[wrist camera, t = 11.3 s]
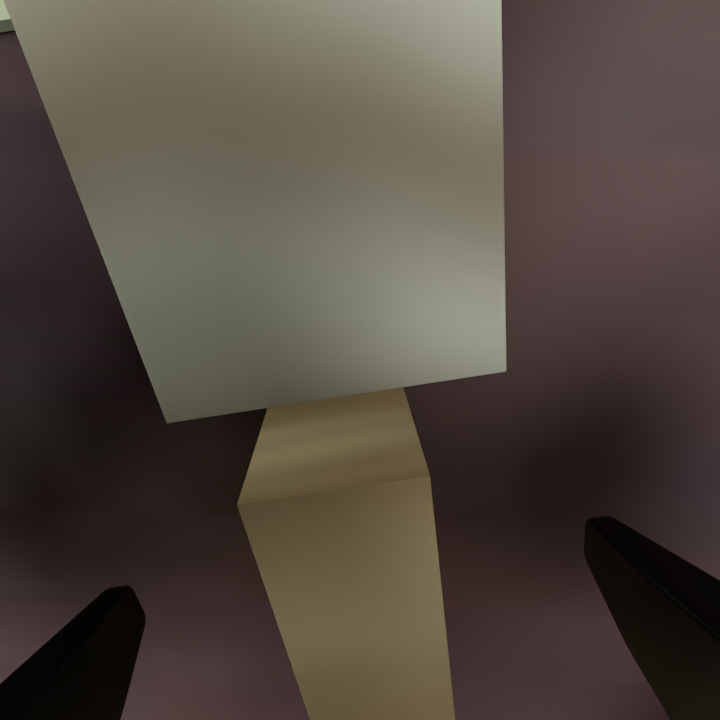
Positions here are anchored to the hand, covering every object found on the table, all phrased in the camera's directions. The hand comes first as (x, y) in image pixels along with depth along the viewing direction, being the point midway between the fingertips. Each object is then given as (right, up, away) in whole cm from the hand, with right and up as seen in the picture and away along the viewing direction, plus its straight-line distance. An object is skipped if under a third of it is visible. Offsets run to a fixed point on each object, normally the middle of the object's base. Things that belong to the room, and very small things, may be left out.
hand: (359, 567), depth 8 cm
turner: (0, +2, +2) cm, 3 cm away
